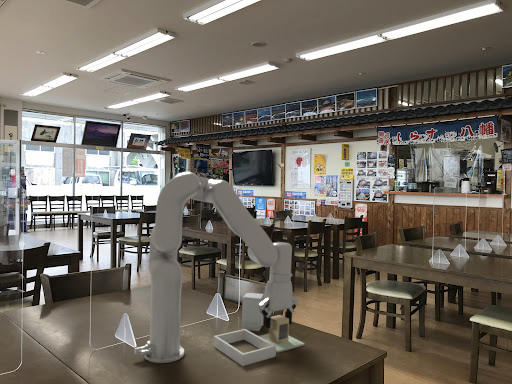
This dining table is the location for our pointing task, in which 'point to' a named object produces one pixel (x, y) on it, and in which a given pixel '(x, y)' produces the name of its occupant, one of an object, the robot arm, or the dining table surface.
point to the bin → (243, 359)
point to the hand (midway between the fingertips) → (277, 325)
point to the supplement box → (252, 311)
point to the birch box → (279, 329)
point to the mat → (286, 345)
